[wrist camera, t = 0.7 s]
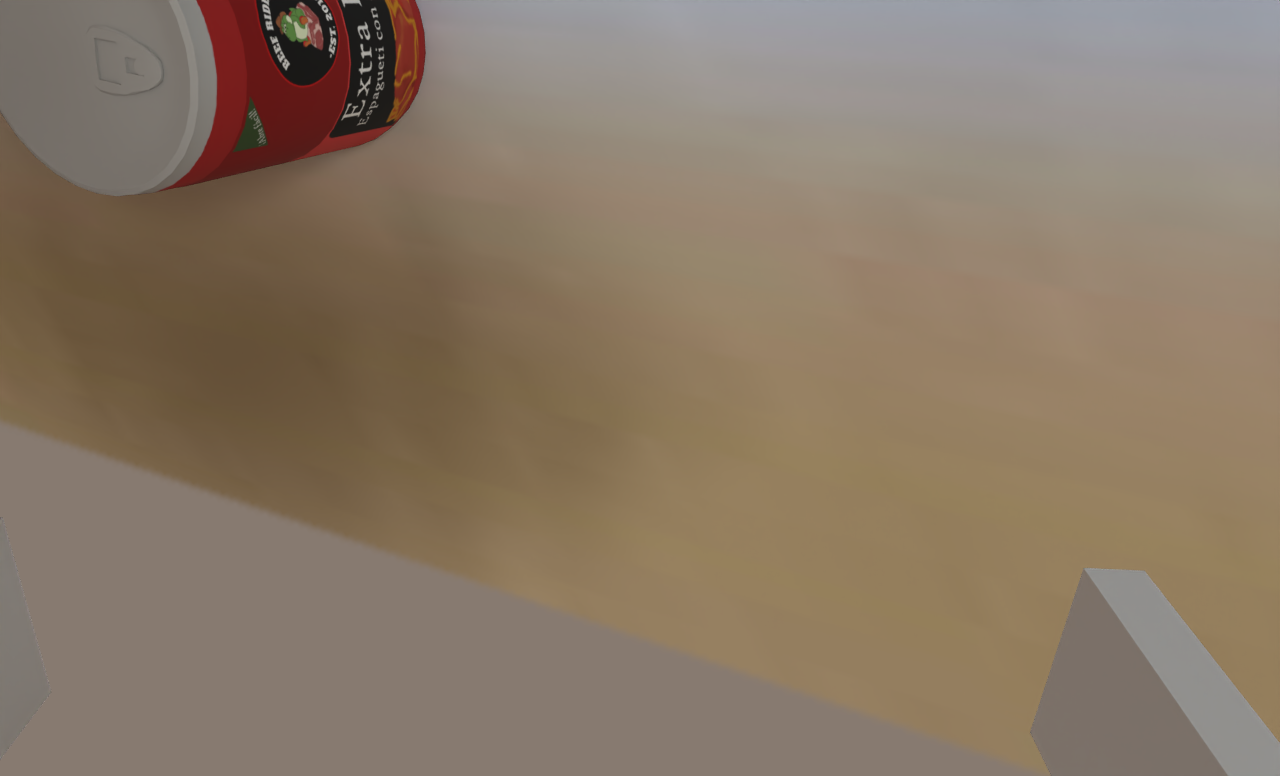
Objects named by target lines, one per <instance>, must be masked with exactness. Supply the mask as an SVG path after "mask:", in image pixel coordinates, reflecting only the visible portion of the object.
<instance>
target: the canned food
mask: <svg viewBox="0 0 1280 776" xmlns="http://www.w3.org/2000/svg"><path fill="white" fill-rule="evenodd" d="M424 63H425V37H424V29H423V25H422V20H421V16H420V12H419V9H418V6H417V4H416V1H415V0H0V112H1V114H2V115H3V117H4V118H5V120H6V121H7V122H8V124H9V125H10V127H11V128H12V130H13V131H14V133H15V134H16V136H17V137H18V138H19V139H20V140H21V141H22V142H23V144H24V145H25V146H26V147H27V148H28V149H29V150H30V151H31V152H32V154H33V155H34V156H35V157H36V158H37V159H39V160H40V161H41V162H42V163H43V164H45V165H46V166H47V167H48V168H49V169H51V170H52V171H53V172H54V173H55V174H57V175H59V176H61V177H62V178H64V179H66V180H67V181H69V182H71V183H72V184H74V185H76V186H78V187H81V188H84V189H86V190H89V191H92V192H95V193H98V194H105V195H112V196H124V195H137V194H146V193H154V192H159V191H163V190H168V189H172V188H176V187H184V186H189V185H193V184H197V183H201V182H205V181H210V180H214V179H218V178H222V177H227V176H231V175H235V174H239V173H244V172H248V171H252V170H256V169H261V168H265V167H269V166H273V165H278V164H282V163H286V162H290V161H295V160H299V159H303V158H307V157H312V156H316V155H320V154H324V153H329V152H333V151H337V150H341V149H346V148H350V147H354V146H358V145H361V144H364V143H366V142H369V141H371V140H374V139H376V138H377V137H379V136H380V135H381V134H383V133H384V132H386V131H387V130H388V129H390V128H391V127H392V126H393V125H394V124H395V123H396V122H397V121H398V120H399V119H400V118H401V117H402V116H403V114H404V113H405V112H406V111H407V110H408V109H409V107H410V105H411V104H412V102H413V100H414V98H415V96H416V94H417V92H418V89H419V86H420V83H421V80H422V76H423V72H424Z"/></svg>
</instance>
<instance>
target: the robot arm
mask: <svg viewBox="0 0 1280 776" xmlns="http://www.w3.org/2000/svg"><path fill="white" fill-rule="evenodd" d="M50 693H51V689H50V685H49V682H48V678H47V675H46V671H45V667H44V664H43V660H42V657H41V653H40V649H39V646H38V642H37V639H36V635H35V632H34V628H33V624H32V621H31V617H30V614H29V610H28V606H27V603H26V599H25V596H24V592H23V588H22V585H21V581H20V578H19V574H18V570H17V567H16V563H15V560H14V556H13V553H12V549H11V545H10V542H9V538H8V535H7V531H6V528H5V524H4V520H3V517H0V759H1V758H2V757H3V755H4V754H5V753H6V751H7V750H8V749H9V747H10V746H11V745H12V743H13V742H14V741H15V739H16V738H17V737H18V735H19V734H20V733H21V732H22V730H23V729H24V728H25V726H26V725H27V724H28V722H29V721H30V720H31V718H32V717H33V715H34V714H35V713H36V712H37V710H38V709H39V708H40V706H41V705H42V704H43V702H44V701H45V700H46V699H47V697H48V696H49V694H50ZM1030 733H1031V735H1032V737H1033V739H1034V741H1035V743H1036V745H1037V747H1038V749H1039V752H1040V754H1041V756H1042V758H1043V760H1044V762H1045V764H1046V766H1047V768H1048V770H1049V772H1050V774H1051V776H1280V743H1279V742H1278V740H1277V739H1276V738H1275V737H1274V735H1273V734H1272V733H1271V731H1270V730H1269V729H1268V728H1267V726H1266V725H1265V724H1264V723H1263V721H1262V720H1261V719H1260V717H1259V716H1258V715H1257V714H1256V712H1255V711H1254V710H1253V709H1252V707H1251V706H1250V705H1249V703H1248V702H1247V701H1246V700H1245V698H1244V697H1243V696H1242V695H1241V693H1240V692H1239V691H1238V689H1237V688H1236V687H1235V686H1234V684H1233V683H1232V682H1231V681H1230V679H1229V678H1228V677H1227V675H1226V674H1225V673H1224V672H1223V670H1222V669H1221V668H1220V666H1219V665H1218V664H1217V663H1216V661H1215V660H1214V659H1213V658H1212V656H1211V655H1210V654H1209V652H1208V651H1207V650H1206V649H1205V647H1204V646H1203V645H1202V644H1201V642H1200V641H1199V640H1198V638H1197V637H1196V636H1195V635H1194V633H1193V632H1192V631H1191V630H1190V628H1189V627H1188V626H1187V624H1186V623H1185V622H1184V621H1183V619H1182V618H1181V617H1180V616H1179V614H1178V613H1177V612H1176V610H1175V609H1174V608H1173V607H1172V605H1171V604H1170V603H1169V602H1168V600H1167V599H1166V598H1165V596H1164V595H1163V594H1162V593H1161V591H1160V590H1159V589H1158V588H1157V586H1156V585H1155V584H1154V582H1153V581H1152V580H1151V579H1150V577H1149V576H1148V575H1147V574H1146V572H1145V571H1136V570H1115V569H1093V568H1084V569H1083V572H1082V575H1081V578H1080V581H1079V584H1078V587H1077V590H1076V593H1075V596H1074V599H1073V602H1072V606H1071V609H1070V612H1069V615H1068V618H1067V621H1066V624H1065V627H1064V630H1063V633H1062V636H1061V639H1060V642H1059V645H1058V648H1057V652H1056V655H1055V658H1054V661H1053V664H1052V667H1051V670H1050V673H1049V676H1048V679H1047V682H1046V685H1045V688H1044V691H1043V694H1042V698H1041V701H1040V704H1039V707H1038V710H1037V713H1036V716H1035V719H1034V722H1033V725H1032V728H1031V731H1030Z"/></svg>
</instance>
